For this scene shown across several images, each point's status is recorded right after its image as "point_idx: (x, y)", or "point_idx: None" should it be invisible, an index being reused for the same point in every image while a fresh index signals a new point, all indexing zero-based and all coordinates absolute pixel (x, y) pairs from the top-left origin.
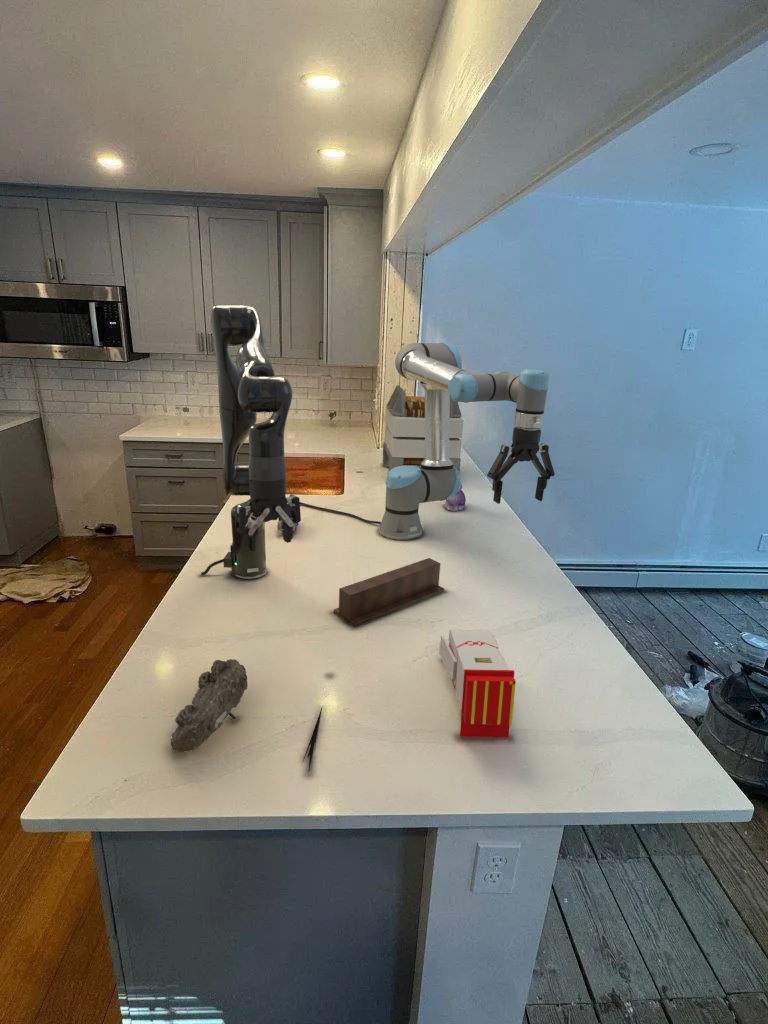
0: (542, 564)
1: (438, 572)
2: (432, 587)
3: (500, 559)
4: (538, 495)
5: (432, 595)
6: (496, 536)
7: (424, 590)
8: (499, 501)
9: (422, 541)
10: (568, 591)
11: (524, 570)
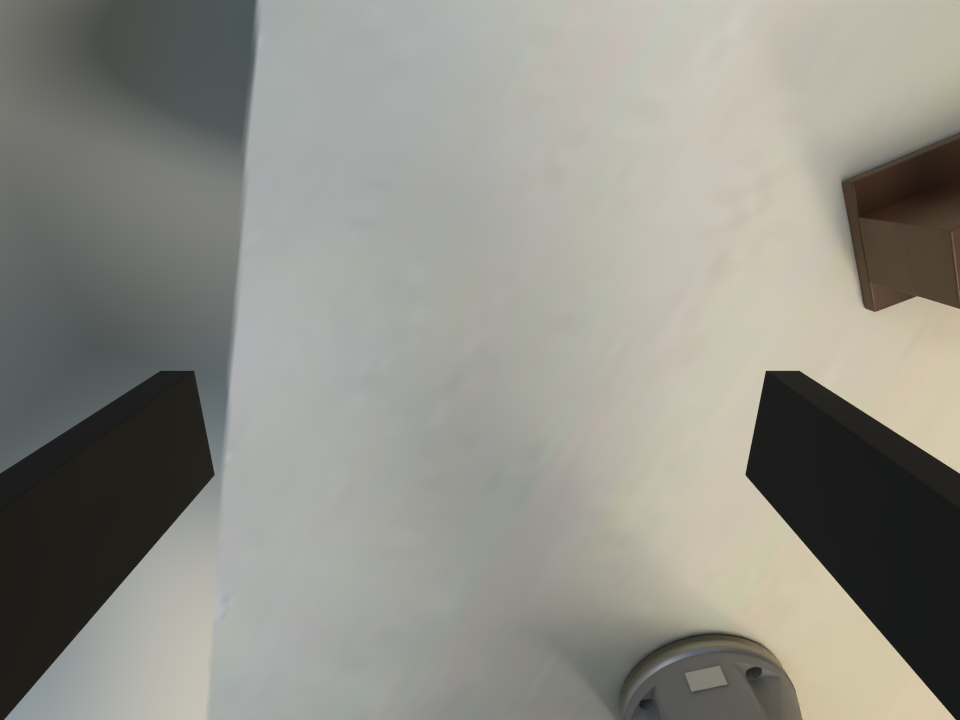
0: (257, 336)
1: (920, 219)
2: (900, 200)
3: (426, 418)
4: (172, 441)
5: (922, 149)
6: (339, 608)
7: (954, 179)
8: (792, 382)
9: (661, 617)
10: (259, 40)
11: (371, 298)
